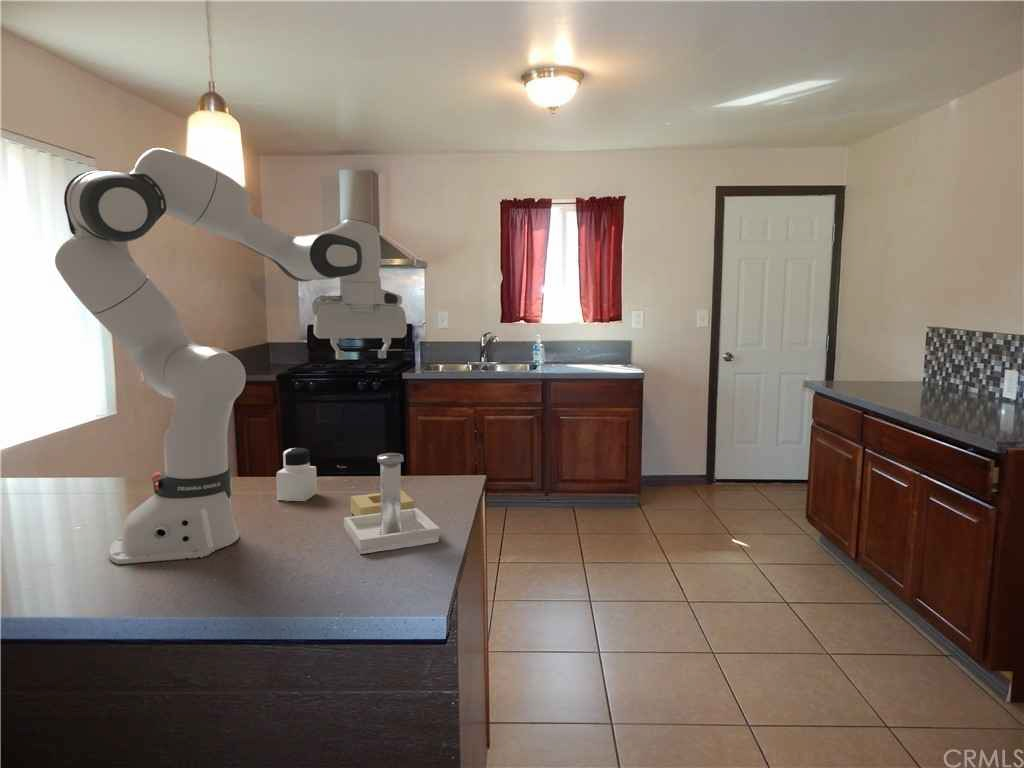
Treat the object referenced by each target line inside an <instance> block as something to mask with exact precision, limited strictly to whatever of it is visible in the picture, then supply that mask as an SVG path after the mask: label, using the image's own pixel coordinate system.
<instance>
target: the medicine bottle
mask: <svg viewBox="0 0 1024 768" xmlns="http://www.w3.org/2000/svg"><path fill="white" fill-rule="evenodd" d="M282 458H283V460H282V461H283V468H282V469H280V470H278V471H277V472H276V494H277V495H276V500H277V501H278V500H297V501H306V500H308V499H309V498H310V499H311V497H312V496H313V495H314V496H316V495H317V494H318V492H317V491H318V487H317V482H318V480H317V466H315V465H314V466H313V465H311V461H310V459H311V456H310V451H309V449H307V448H304V447H294V448H293V447H292V448H288V449H286V450H284V451H283V453H282ZM316 493H317V494H316ZM315 494H316V495H315ZM314 496H313V497H314ZM313 497H312V498H313ZM310 499H309V500H310ZM309 500H308V501H309ZM306 502H307V501H306Z"/></svg>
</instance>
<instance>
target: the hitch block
mask: <svg viewBox="0 0 1024 768" xmlns="http://www.w3.org/2000/svg"><path fill="white" fill-rule="evenodd" d="M414 508H415V500H413V498H411V497H410V496H409V494H407V493H406V492H405V491H403V490H402V489H401V510H406V509H414ZM351 512H352V513H353V514H354V516H361V515H368V514H376V513H381V492H377V493H375V492H373V493H369V494H366V493H365V494H359V495H351V496H350V513H351Z"/></svg>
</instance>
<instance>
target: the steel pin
mask: <svg viewBox="0 0 1024 768" xmlns="http://www.w3.org/2000/svg"><path fill="white" fill-rule="evenodd" d="M376 458H377V459H376V462H377V463H379V465H380V468H379V469H380V474H379V475H380V476H379V477H380V493H381V534H383V535H385V534H392V533H399V532H401V490H402V487H401V485H402V484H401V483H402V482H401V480H402V478H401V474H402V473H401V466H402V465H401V463H404V455H403V454H401V453H397V452H387V453H380V454H378V455H377V457H376Z"/></svg>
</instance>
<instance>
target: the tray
mask: <svg viewBox="0 0 1024 768" xmlns="http://www.w3.org/2000/svg"><path fill="white" fill-rule="evenodd" d="M410 518H415V519H416V520H417V521H418V522H420V523H421V524H422V525H423V526H424V527H425V528H426V529H419V530H412V531H406V532H399V533H392V534H385V535H381V534H380V531H381V530H380V529H381V513H376V514H368V515H361V516H345V517H343V530H344V529H345V531H346V532H347V533H348V535H349V536H350V538H351V539H352V540H353V542H354V543H355V544H356V545H357V547H358V548H359V549H360V551H363V550H368V549H372V548H377V547H381V546H386V545H391V544H397V543H401V542H406V541H413V540H418V539H424V538H430V537H436V536H440V537H441V527H439V526H438V525H437V524H436V523H435V522H433V521H432V519H430V518H429V517H428V516H427V515H426V514H424V512H422V510H420V509H419V508H418V507H414V509H406V510H401V520H403V519H410ZM379 534H380V535H379Z"/></svg>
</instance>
